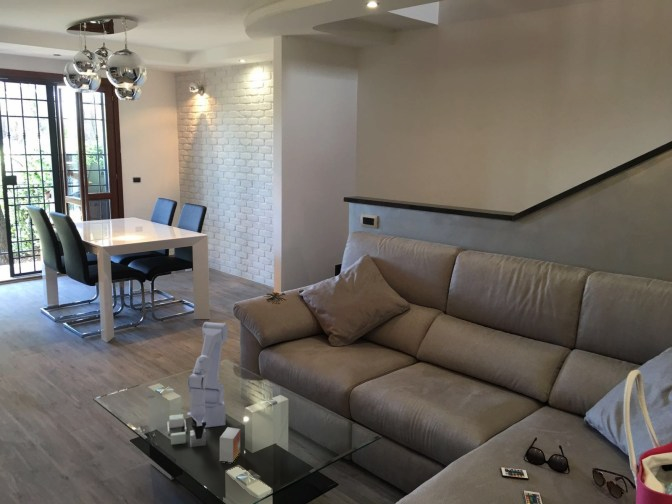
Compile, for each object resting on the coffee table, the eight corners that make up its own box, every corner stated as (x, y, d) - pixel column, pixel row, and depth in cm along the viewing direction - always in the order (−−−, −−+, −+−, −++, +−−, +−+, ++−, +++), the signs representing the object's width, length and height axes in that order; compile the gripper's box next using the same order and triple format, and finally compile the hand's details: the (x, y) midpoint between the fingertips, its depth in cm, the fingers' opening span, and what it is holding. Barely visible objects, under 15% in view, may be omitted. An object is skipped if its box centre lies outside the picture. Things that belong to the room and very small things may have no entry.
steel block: (189, 441, 228) (189, 430, 226) (205, 439, 229) (205, 428, 228) (190, 447, 224) (190, 435, 223) (206, 445, 226) (206, 433, 225)
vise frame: (185, 422, 242) (185, 413, 241) (188, 442, 227) (187, 433, 226) (167, 424, 239) (167, 415, 238) (168, 444, 224) (168, 435, 223)
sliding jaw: (183, 422, 241) (182, 414, 240) (183, 426, 238) (183, 418, 237) (169, 424, 239) (169, 415, 239) (169, 428, 236) (169, 419, 235)
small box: (233, 464, 214) (233, 439, 212) (219, 462, 215) (219, 437, 213) (240, 452, 222) (240, 428, 219) (227, 450, 223) (227, 426, 220)
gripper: (186, 395, 228) (186, 425, 231) (188, 412, 215) (188, 444, 218) (203, 393, 230) (203, 423, 233) (207, 410, 217) (207, 441, 220)
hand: (197, 433), depth 226 cm, fingers open, 7 cm apart
